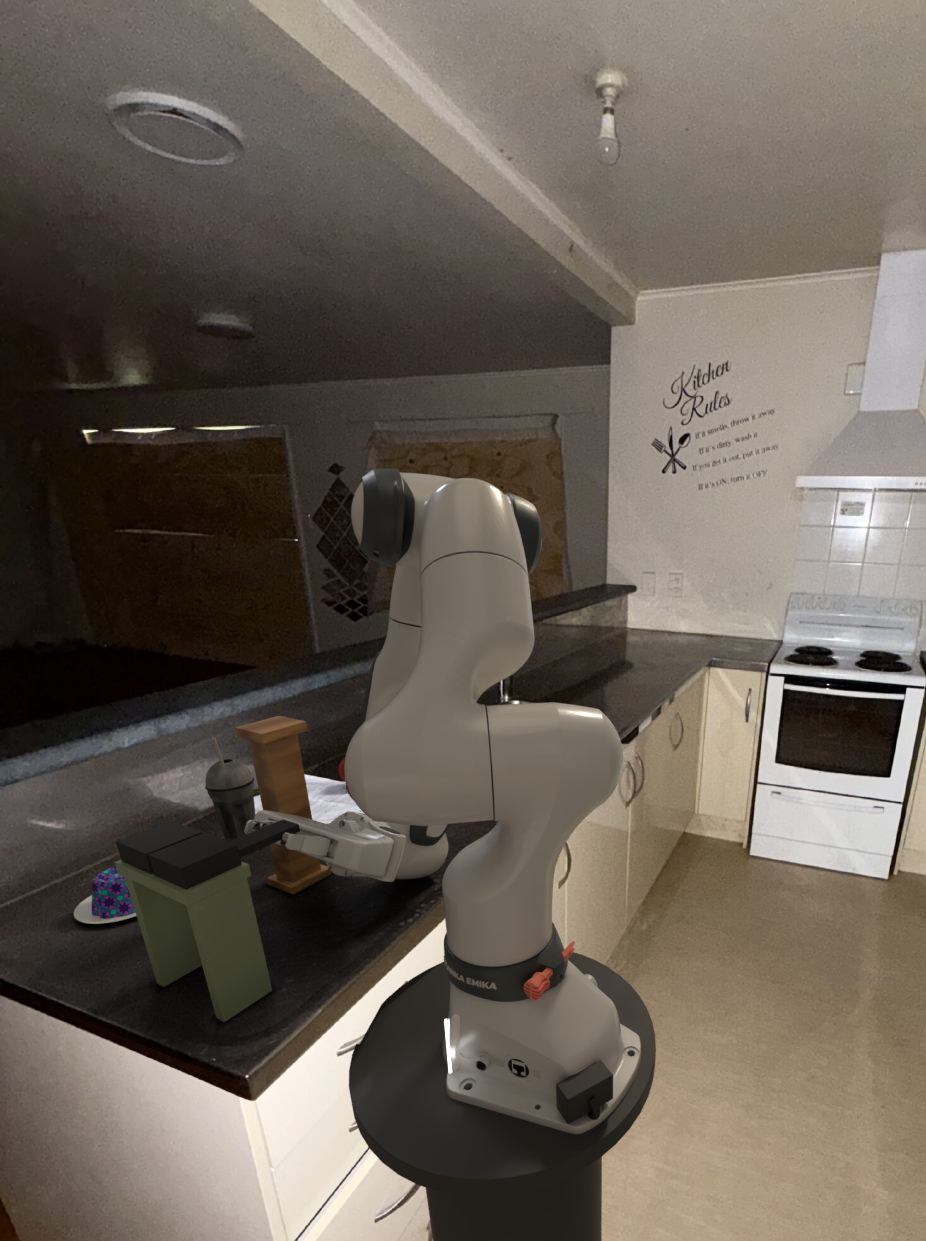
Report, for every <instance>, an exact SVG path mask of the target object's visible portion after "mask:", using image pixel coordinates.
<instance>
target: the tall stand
mask: <svg viewBox="0 0 926 1241" xmlns="http://www.w3.org/2000/svg"><path fill="white" fill-rule="evenodd" d="M234 731H235V736H236V739H241V740H245V741H248V744H249V749H250V754H251V759H252V763H253V768H254V769H253V770H254V773H255V778H256V783H257V789H258V794H259V797H260V802H261V807H262V810H268V811H274V812H279V813H285V814H291V815H296V816H301V817H305V818H309V819H312V820H313V815H312V810H311V805H310V804H311V803H310V798H309V792H308V787H307V786H308V785H307V781H306V776H305V770H304V769H305V768H304V764H303V758H302V753H301V747H300V742H299V736H298V734H302V733H305V732H308V726H307V722H306V720H301V719H297V718H292V717H287V716H281V715H275V716H273V717H269V718H265V719H262V720H257V721H255V722H254V721H253V722H251V723H246V724H243V725H239V726H235V727H234ZM269 846H270V847H269V848H270V851H271V856H272V861H273V865H274V870H275V873H273V874H272V875H270V876H267V877H266V883H267V885H268V886H271V887H274V888H276V889H278V890H281V891H283V892H286V893H288V894H291V895H296V894H297V893H299V892H301V891H303V890H304V889H306V888H308V887H311V886H312V885H314V884H316V883H318V882H320V881H322V880H323V879H325V878H327V877H329V876H331V875H332V874H333V872H332V871H331V870H330V869H329V868H328V866H327V865H325V864H322V863H321V860H320V859H317V858H314V857H311V856H309V855H306V854H303V853H300V852H297V851H294V850H290V849H287V848H284V847H282V846H280V845H277V844H275V843H273V844H271V845H269Z"/></svg>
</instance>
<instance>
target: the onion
mask: <svg viewBox="0 0 926 1241" xmlns="http://www.w3.org/2000/svg"><path fill="white" fill-rule="evenodd" d="M344 766H345V757H344V758H343V759H342V760H341V761H340V764H339V766H338V775H339V777H340V778H341V779H342V781H344V782H345V783H346V779H345V768H344Z"/></svg>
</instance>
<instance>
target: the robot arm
mask: <svg viewBox="0 0 926 1241" xmlns="http://www.w3.org/2000/svg"><path fill="white" fill-rule="evenodd" d="M350 506H351V507H350V510H351V511H350V520H351V525H352V529H353V533H354V534H355V538H356V540H357V542H358V548H359V550H360V551H362V553H363V554H364V555H365V556H366V557H367V558H368V559H369V560H371V561H373V562H376V563H378V564H382V565H383V566H386V567H387V566H388V567H391V568H394V567H395V571H394V575H393V580H392V586H391V593H390V600H389V613H388V626H387V631H386V632H387V633H386V637H385V640H384V643H383V646H382V649H380V650H379V651H378V652H377V653H376V655H375V656H374V657H373V660H372V662H371V664H370V669H369V672H368V676H367V681H366V686H365V692H364V696H363V697H364V698H363V703H362V709H361V715H360V721H359V726H358V728H357V730H356V731H355V732H354V734H353V736H352V737H351V740H350V742H349V744H348V746H347V748H346V753H345V757H344V758H345V766H344V768H345V779H346V782H345V785H346V791H347V793H348V795H349V797H350V799H352V801H353V802H354V803H355V805H356V806H357V807H358V808H359V810H360V811H361V812H357V811H347V812H344V813H340V814H339V815H338V816H336V817H335V818H334V820H332V821H330V822H329V823H324V822H321V821H318V820H315V819H313V818H312V819H309V818H305V817H301V816H296V815H291V814H285V813H279V812H274V811H268V810H263V809H260V810H258V811H257V812H255V814H256V815H255V818H254V820H249V821H247V823H246V826H245V830H244V832H245V834H249V833H251V832H254V831H256V830H258V829H261V828H263V827H266V826H268V825H270V824H273V823H275V822H278V821H280V820H282V819H284V820H287V821H290V822H293V823H296V824H299V828H300V832H298V833H289V832H286V833H284V834H283V836H282V840H280V841H277V842H275V844H277V845H280V846H282V847H284V848H287V849H290V850H294V851H297V852H300V853H303V854H306V855H309V856H311V857H314V858H317V859H319V860H320V861H323V862H324V863H325V864H326V865H325V866H328V868H329V869H330V870H331V873H332V874H335V875H336V876H339V877H348V878H349V877H351V878H361V879H372V880H376V881H380V882H385V883H393V882H395V880H418V879H422V878H426V877H428V876H430V875H432V874H434V873H436V872H437V871H438V870H440V869H441V868H442V867H443V865H444V863H445V862H446V860H447V858H448V854H449V841H448V838H447V831H448V830H449V828H450V826H451V824H452V825H455V824H463V823H474V822H475V823H476V822H484V821H485V822H486V821H494V822H497V823H496V824H495V826H494V827H493V828H492V829H491V830H490V831H489V832H488V833H486V834H485V835H482V836H481V837H480V838H478V839H477V840H474V841H473V842H472V843H470V844H467V845H466V846H465V847H464V848H462V849H461V850H460V851H459V852H458V853H457V854H456V855H455V856H454V857H453V859H452V860H451V861H450V862H449V864H448V865H447V867H446V868H445V871H444V874H443V877H442V881H441V892H442V901H443V910H444V920H445V921H444V922H445V930H446V932H445V934H444V938H443V962H445V969H446V974H447V976H448V978H449V980H450V1001H449V1016H448V1023H447V1019H444V1022H445V1035H444V1039H443V1056H444V1059H445V1062H446V1065H447V1067H448V1073H447V1080H446V1093H447V1095H448V1096H449V1097H450V1098H452V1099H454V1100H458V1101H461V1102H465V1103H468V1104H472V1105H475V1106H478V1107H482V1108H485V1109H489V1110H492V1111H496V1112H499V1113H502V1114H506V1115H509V1116H513V1117H516V1118H520V1119H523V1120H526V1121H530V1122H533V1123H537V1124H540V1125H544V1126H547V1127H550V1128H554V1129H557V1130H561V1131H564V1132H568V1133H572V1134H582V1133H584V1132H586V1131H588V1130H590V1129H592V1128H594V1127H595V1126H597V1125H598V1124H600V1123H601V1122H602V1121H603V1120H604V1119H606V1118H607V1117H608V1116H609V1115H610V1114H611V1113H612V1112H613V1111H614V1110H615V1108H616V1107H617V1106H618V1105H619V1103H620V1102H621V1101H622V1099H623V1098H624V1096H625V1095H626V1093H627V1092H628V1090H629V1088H630V1086H631V1085H632V1083H633V1081H634V1079H635V1077H636V1074H637V1072H638V1069H639V1066H640V1062H641V1042H640V1038H639V1036H638V1035H637V1034H636V1033H635V1032H633V1031H632V1030H630V1029H628V1028H627V1027H625V1026H623V1025H622V1024H620V1021H619V1016H618V1012H617V1009H616V1007H615V1005H614V1003H613V1002H612V1000H611V999H610V998H609V997H607V996H606V995H605V994H604V993H603V992H602V991H601V990H600V989H599V988H598V985H597V982H596V980H595V978H594V977H593V976H591V975H589V974H585V975H584V974H583V973H582V972H581V971H580V970H579V969H578V968H577V967H575V966H574V965H573V964H572V963H571V962H570V961H569V960H568V958H569V957H570V956H571V955H572V953H573V952H575V950H576V949H575V947H574V946H575V941H573V940H572V941H571V942H570V943H569V944H568V945H567V946H566V947H564V945H563V942H562V939H561V937H560V934H559V932H558V930H557V928H556V926H555V923H554V922H553V895H554V880H555V871H556V867H557V864H558V861H559V858H560V855H561V853H562V851H563V849H564V848H565V846H566V843H567V841H568V840H569V839H570V837H571V836H572V834H573V833H574V832H575V830H576V829H577V827H578V826H579V825H580V824H581V823H582V822H583V821H584V820H585V819H586V818H587V817H588V816H589V815H591V813H592V812H593V811H595V810H596V809H598V808H599V807H601V805H603V804H604V803H606V802H607V801H608V800H609V799H610V797H611V796H612V795H613V793H614V792H615V790H616V788H617V786H618V784H619V781H620V779H621V776H622V771H623V766H624V751H623V745H622V741H621V737H620V735H619V733H618V731H617V729H616V727H615V725H614V724H613V723H612V720H610V718H608V716H607V715H606V714H605V713H604V712H603V711H601V710H600V709H599V708H595V707H590V706H584V705H578V704H568V703H562V702H555V701H552V702H551V701H549V702H532V703H531V702H527V703H510V704H508V703H507V704H492V705H490V704H489V705H486V704H481V703H478V701H479V699H480V697H481V696H482V695H483V694H484V693H485V692H486V691H487V690H488V689H489V688H491V687H492V686H494V685H497V683H499V682H502V681H504V680H506V679H507V678H509V677H511V676H512V675H513V674H515V673H516V672H518V671H519V669H521V668H522V667H523V666H524V665H525V664H526V662H528V659H529V658H530V657H531V654H532V653H533V650H534V646H535V639H536V636H535V627H534V626H535V625H534V619H533V609H532V600H531V589H530V588H531V587H530V578H529V576H530V575H531V574H532V573H533V572H534V571H535V569H536V568H537V564H538V561H539V558H540V554H541V551H542V545H543V526H542V521H541V516H540V514H539V512H538V510H537V508H536V506H535V505H534V503H533V502H530V500H527V499H525V498H523V497H521V496H519V495H517V494H515V493H511V492H506V493H503V491H501V489H499V488H498V487H497V486H495V485H494V484H492V483H490V482H487V481H485V480H483V479H479V478H473V477H472V478H471V477H463V478H462V477H460V478H454V477H448V476H442V475H437V474H429V473H427V474H426V473H418V472H417V473H415V472H400V470H399V468H376V469H375V468H374V469H371V470H369V471H368V472H367V473H366V474H364V475H363V476H362V477H361V478H360V482H359V484H358V486H357V487H356V490H355V492H354V495H353V498H352V501H351V505H350ZM630 1055H632V1056H630ZM468 1088H471V1089H470V1090H466V1089H468Z"/></svg>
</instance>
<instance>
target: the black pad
mask: <svg viewBox="0 0 926 1241" xmlns="http://www.w3.org/2000/svg"><path fill="white" fill-rule="evenodd" d="M286 832H289V833H298V832H300V828H299V824H296V823H293V822H290V821H287V820H284V819H282V820H280V821H278V822H275V823H273V824H270V825H268V826H266V827H263V828H261V829H258V830H256V831H254V832H251V833H249V834H247V835H244V836H242V837H239V838H237V839H235V840H232V841H230V842H229V841H226V839H223V838H220V837H219V836H215V835H213V834H210V833H207V832H202V834H200V835H198V836H195V837H192V838H190V839H187V840H185V841H182V842H180V843H177V844H175V845H172V846H170V847H167V848H164V849H162V850H159V851H157V852H154V853H152V854H149V858H150V862H151V865H152V869H153V872H154V875H155V876H157V877H160V878H162V879H164V880H166V881H168V882H171V883H173V884H175V885H177V886H179V887H182V888H184V889H186V890H187V889H189V888H191V887H193V886H196V885H198V884H200V883H202V882H204V881H207V880H209V879H211V878H213V877H215V876H218V875H220V874H222V873H224V872H226V871H228V870H231V869H233V868H235V867H237V866H239V865H241V861H242V859H241V858H244V857H246V856H248V855H250V854H253V853H255V852H257V851H260V850H262V849H264V848H266V847H268V846H270V845H271V844H273V843H275V842H277V841H280V840H282V836H283V834H284V833H286Z"/></svg>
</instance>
